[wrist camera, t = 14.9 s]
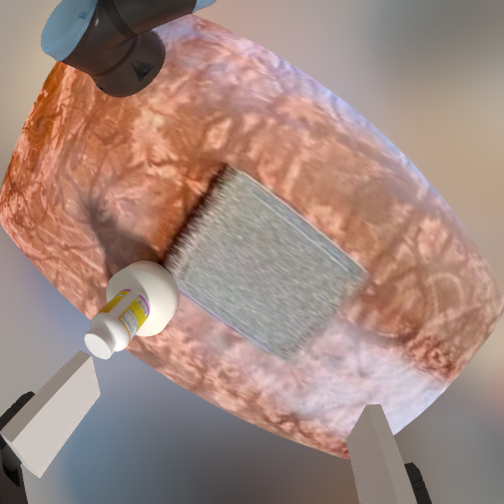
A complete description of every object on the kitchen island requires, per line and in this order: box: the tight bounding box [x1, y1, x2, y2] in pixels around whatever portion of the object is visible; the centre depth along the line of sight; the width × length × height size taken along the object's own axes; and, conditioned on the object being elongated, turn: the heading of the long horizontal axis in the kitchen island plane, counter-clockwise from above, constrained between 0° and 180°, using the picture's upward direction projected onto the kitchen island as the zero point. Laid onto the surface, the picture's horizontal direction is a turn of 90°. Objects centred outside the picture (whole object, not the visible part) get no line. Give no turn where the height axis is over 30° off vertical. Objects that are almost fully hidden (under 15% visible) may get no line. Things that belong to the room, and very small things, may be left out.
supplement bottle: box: [85, 288, 150, 359], centre depth 38 cm, size 7×7×13 cm
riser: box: [106, 260, 180, 336], centre depth 47 cm, size 13×13×6 cm
